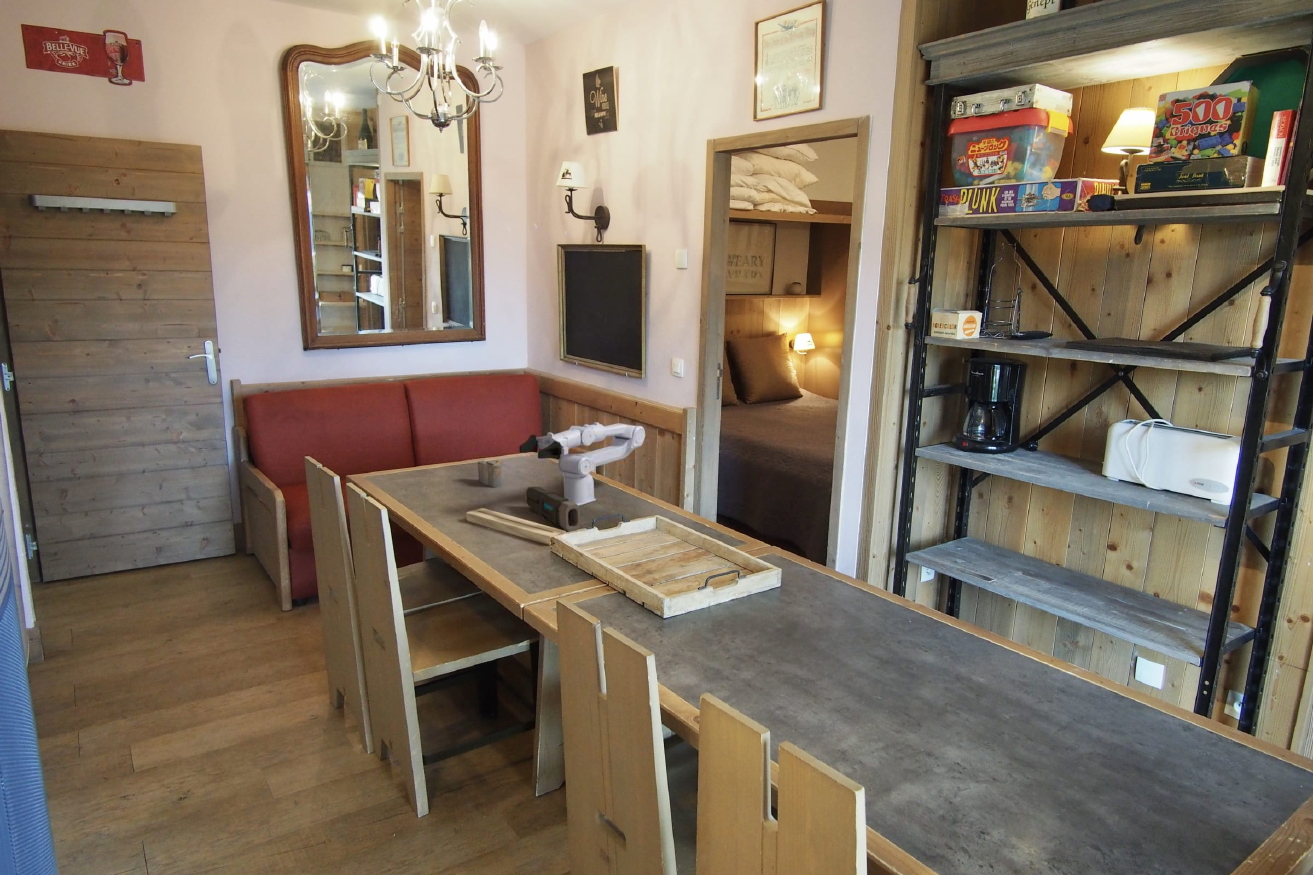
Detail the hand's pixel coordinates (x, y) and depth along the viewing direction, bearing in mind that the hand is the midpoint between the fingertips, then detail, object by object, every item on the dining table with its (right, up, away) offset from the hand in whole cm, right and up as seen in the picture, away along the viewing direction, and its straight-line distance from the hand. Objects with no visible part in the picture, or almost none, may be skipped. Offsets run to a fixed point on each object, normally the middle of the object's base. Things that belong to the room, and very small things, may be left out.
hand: (529, 452), depth 241 cm
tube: (+6, -20, +3) cm, 21 cm away
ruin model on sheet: (-20, -13, +43) cm, 49 cm away
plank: (-3, -22, -8) cm, 24 cm away
